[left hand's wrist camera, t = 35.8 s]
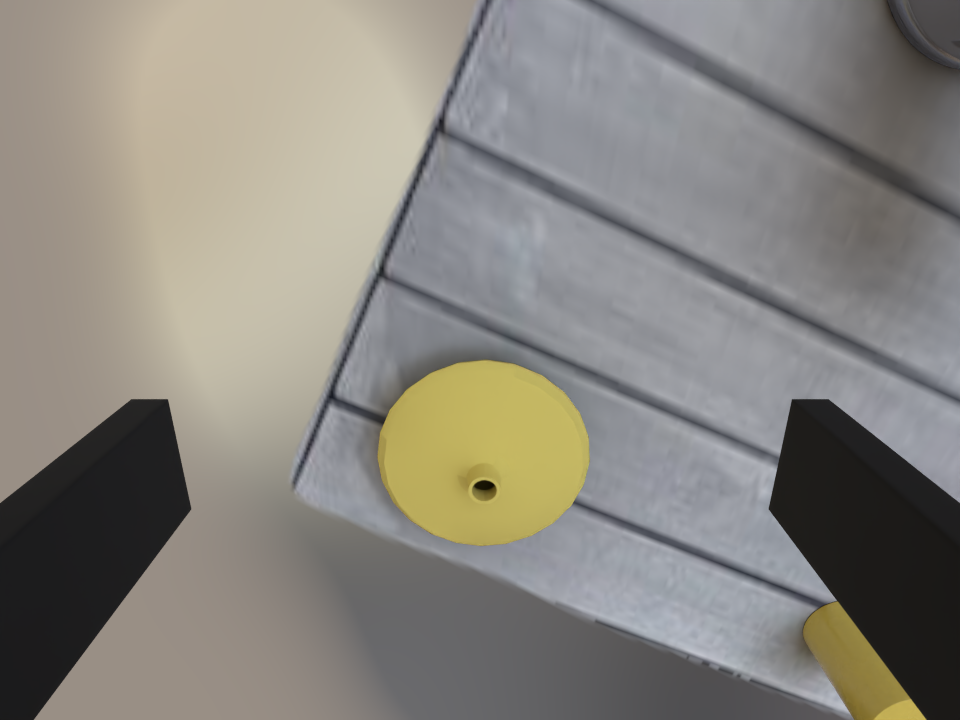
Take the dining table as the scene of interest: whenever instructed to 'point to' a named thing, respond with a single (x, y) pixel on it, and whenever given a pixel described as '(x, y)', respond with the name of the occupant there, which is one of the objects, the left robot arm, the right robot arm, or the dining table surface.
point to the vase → (483, 453)
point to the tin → (856, 668)
